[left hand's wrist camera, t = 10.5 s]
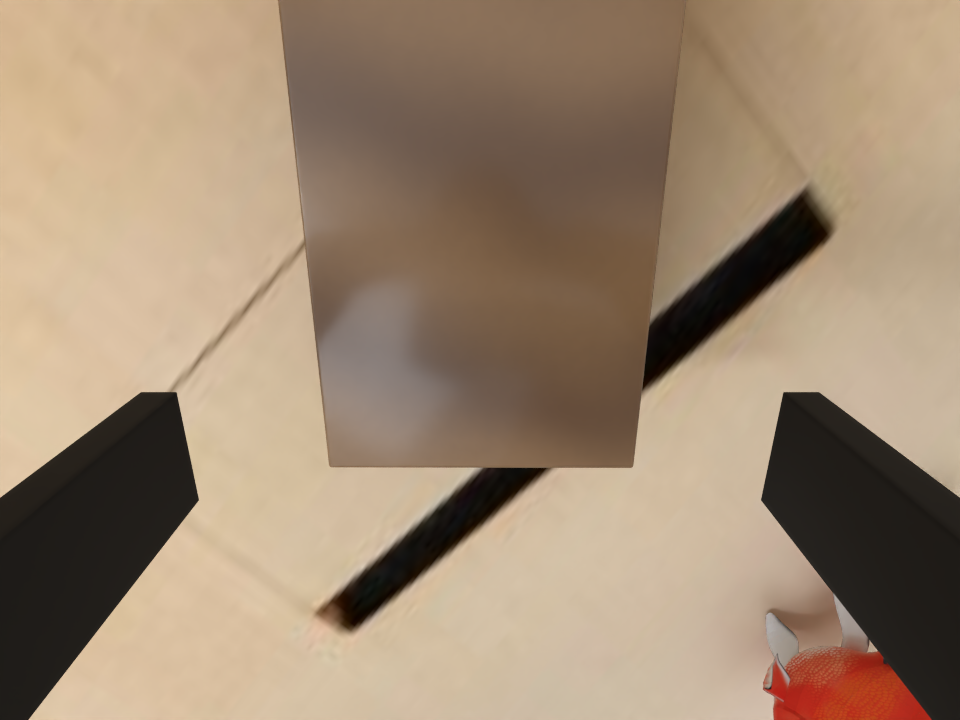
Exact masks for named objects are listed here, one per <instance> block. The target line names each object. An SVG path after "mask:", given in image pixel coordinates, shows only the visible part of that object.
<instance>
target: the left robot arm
mask: <svg viewBox="0 0 960 720" xmlns="http://www.w3.org/2000/svg"><path fill="white" fill-rule="evenodd" d="M198 501H199V498H198V494H197V489H196V484H195V479H194V474H193V470H192V465H191V460H190V455H189V450H188V446H187V441H186V436H185V431H184V426H183V421H182V417H181V412H180V407H179V402H178V397H177V393H176V392H141V393H139V394H138V395H137V396H135V397H134V398H133V399H131V400H130V401H129V402H127V403H126V404H125V405H123V406H122V407H121V408H119V409H118V410H117V411H115V412H114V413H113V414H111V415H110V416H109V417H107V418H106V419H105V420H103V421H102V422H101V423H99V424H98V425H97V426H95V427H94V428H93V429H91V430H90V431H89V432H87V433H86V434H85V435H83V436H82V437H81V438H79V439H78V440H77V441H75V442H74V443H73V444H71V445H70V446H69V447H67V448H66V449H65V450H63V451H62V452H61V453H59V454H58V455H57V456H55V457H54V458H53V459H51V460H50V461H49V462H47V463H46V464H45V465H43V466H42V467H41V468H39V469H38V470H37V471H35V472H34V473H33V474H31V475H30V476H29V477H27V478H26V479H25V480H23V481H22V482H21V483H19V484H18V485H17V486H15V487H14V488H13V489H11V490H10V491H9V492H7V493H6V494H5V495H3V496H2V497H1V498H0V720H28V719H29V718H30V717H31V716H32V714H33V713H34V712H35V710H36V709H37V708H38V707H39V705H40V704H41V703H42V701H43V700H44V699H45V698H46V696H47V695H48V694H49V692H50V691H51V690H52V689H53V687H54V686H55V685H56V683H57V682H58V681H59V680H60V678H61V677H62V676H63V674H64V673H65V672H66V671H67V669H68V668H69V667H70V665H71V664H72V663H73V662H74V660H75V659H76V658H77V656H78V655H79V654H80V653H81V651H82V650H83V649H84V647H85V646H86V645H87V644H88V642H89V641H90V640H91V638H92V637H93V636H94V635H95V633H96V632H97V631H98V629H99V628H100V627H101V625H102V624H103V623H104V622H105V620H106V619H107V618H108V616H109V615H110V614H111V613H112V611H113V610H114V609H115V607H116V606H117V605H118V604H119V602H120V601H121V600H122V598H123V597H124V596H125V595H126V593H127V592H128V591H129V589H130V588H131V587H132V586H133V584H134V583H135V582H136V580H137V579H138V578H139V577H140V575H141V574H142V573H143V571H144V570H145V569H146V568H147V566H148V565H149V564H150V562H151V561H152V560H153V559H154V557H155V556H156V555H157V553H158V552H159V551H160V550H161V548H162V547H163V546H164V544H165V543H166V542H167V541H168V539H169V538H170V537H171V535H172V534H173V533H174V532H175V530H176V529H177V528H178V526H179V525H180V524H181V523H182V521H183V520H184V519H185V517H186V516H187V515H188V513H189V512H190V511H191V510H192V508H193V507H194V506H195V504H196V503H197V502H198ZM761 501H762V502H763V503H764V504H765V506H766V507H767V508H768V510H769V511H770V512H771V513H772V515H773V516H774V517H775V519H776V520H777V521H778V523H779V524H780V525H781V526H782V528H783V529H784V530H785V532H786V533H787V534H788V535H789V537H790V538H791V539H792V541H793V542H794V543H795V544H796V546H797V547H798V548H799V550H800V551H801V552H802V553H803V555H804V556H805V557H806V559H807V560H808V561H809V562H810V564H811V565H812V566H813V568H814V569H815V570H816V571H817V573H818V574H819V575H820V577H821V578H822V579H823V580H824V582H825V583H826V584H827V586H828V587H829V588H830V589H831V591H832V592H833V593H834V595H835V596H836V597H837V598H838V600H839V601H840V602H841V604H842V605H843V606H844V607H845V609H846V610H847V611H848V613H849V614H850V615H851V616H852V618H853V619H854V620H855V622H856V623H857V624H858V625H859V627H860V628H861V629H862V631H863V632H864V633H865V635H866V636H867V637H868V638H869V640H870V641H871V642H872V644H873V645H874V646H875V647H876V649H877V650H878V651H879V653H880V654H881V655H882V656H883V658H884V659H885V660H886V662H887V663H888V664H889V665H890V667H891V668H892V669H893V671H894V672H895V673H896V674H897V676H898V677H899V678H900V680H901V681H902V682H903V683H904V685H905V686H906V687H907V689H908V690H909V691H910V692H911V694H912V695H913V696H914V698H915V699H916V700H917V701H918V703H919V704H920V705H921V707H922V708H923V709H924V710H925V712H926V713H927V714H928V716H929V717H930V718H931V719H932V720H960V498H959V497H958V496H957V495H955V494H954V493H953V492H951V491H950V490H949V489H947V488H946V487H945V486H943V485H942V484H941V483H939V482H938V481H937V480H935V479H934V478H933V477H931V476H930V475H929V474H927V473H926V472H925V471H923V470H922V469H921V468H919V467H918V466H917V465H915V464H914V463H913V462H911V461H910V460H909V459H907V458H906V457H905V456H903V455H902V454H901V453H899V452H898V451H897V450H895V449H894V448H893V447H891V446H890V445H889V444H887V443H886V442H885V441H883V440H882V439H881V438H879V437H878V436H877V435H875V434H874V433H873V432H871V431H870V430H869V429H867V428H866V427H865V426H863V425H862V424H861V423H859V422H858V421H857V420H855V419H854V418H853V417H851V416H850V415H849V414H847V413H846V412H845V411H843V410H842V409H841V408H839V407H838V406H837V405H835V404H834V403H833V402H831V401H830V400H829V399H827V398H826V397H825V396H823V395H822V394H821V393H819V392H784V393H783V397H782V402H781V407H780V412H779V417H778V421H777V426H776V431H775V436H774V441H773V445H772V450H771V455H770V460H769V465H768V470H767V474H766V479H765V484H764V489H763V494H762V498H761Z"/></svg>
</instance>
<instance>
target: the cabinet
mask: <svg viewBox="0 0 960 720" xmlns="http://www.w3.org/2000/svg"><path fill="white" fill-rule="evenodd" d="M278 4H279V13H280V22H281V31H282V40H283V49H284V58H285V67H286V76H287V86H288V95H289V104H290V113H291V122H292V131H293V140H294V149H295V158H296V167H297V176H298V186H299V195H300V204H301V213H302V222H303V231H304V240H305V249H306V258H307V267H308V276H309V286H310V295H311V304H312V313H313V322H314V331H315V340H316V349H317V358H318V367H319V376H320V386H321V395H322V404H323V413H324V422H325V431H326V440H327V449H328V458H329V465H330V467H520V468H631V467H633V463H634V454H635V446H636V437H637V428H638V419H639V410H640V401H641V393H642V384H643V375H644V366H645V357H646V349H647V340H648V331H649V322H650V313H651V305H652V296H653V287H654V278H655V269H656V261H657V252H658V243H659V234H660V225H661V217H662V208H663V199H664V190H665V181H666V173H667V164H668V155H669V146H670V137H671V129H672V120H673V111H674V102H675V93H676V85H677V76H678V67H679V58H680V49H681V40H682V32H683V23H684V14H685V5H686V0H278Z"/></svg>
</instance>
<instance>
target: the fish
mask: <svg viewBox="0 0 960 720" xmlns="http://www.w3.org/2000/svg"><path fill="white" fill-rule="evenodd" d="M833 596H834V601H835V606H836V609H837V613H838V616H839V620H840V624H841V628H842V636H843V639H842V645H841V647H835V646H822V647H815V648H811V649H807V650H805V651H802V652H800V653H799V647H798V640H797V637H796V636H795V634H794V633H793V632H792V631H791V630H790V629H789V628H787V627H786V626H785V625H784V624H783V623H782V622H781V621H780V620H779V619H778V618H777V617H776V616H775V615H774V614H773V613H768V614H767V615H766V633H767V640H768V644H769V647H770V649H771V651H772V654H773V655H774V657H775V659H774V661H773V662H772V664H771V665H770V667H769V669H768V671H767V674H766V677H765V680H764V682H763V685H764V687H763V690H764V691H766V692H767V693H769V694H771V695H773V696H774V707H773V715H774V720H932V719H931V718H930V717H929V716H928V714H927V713H926V712H925V710H924V709H923V708H922V707H921V705H920V704H919V703H918V701H917V700H916V699H915V698H914V696H913V695H912V694H911V692H910V691H909V690H908V689H907V687H906V686H905V685H904V683H903V682H902V681H901V680H900V678H899V677H898V676H897V674H896V673H895V672H894V671H893V669H892V668H891V667H890V665H889V664H888V663H887V662H886V660H885V659H884V658H883V656H882V655H881V654H880V653H879V651H877V652H867V650H868V647H869V638H868V637H867V636H866V635H865V633H864V632H863V631H862V629H861V628H860V627H859V625H858V624H857V623H856V622H855V620H854V619H853V618H852V616H851V615H850V614H849V613H848V611H847V610H846V609H845V607H844V606H843V605H842V604H841V602H840V601H839V600H838V598H837V597H836V596H835V595H834V593H833Z"/></svg>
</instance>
